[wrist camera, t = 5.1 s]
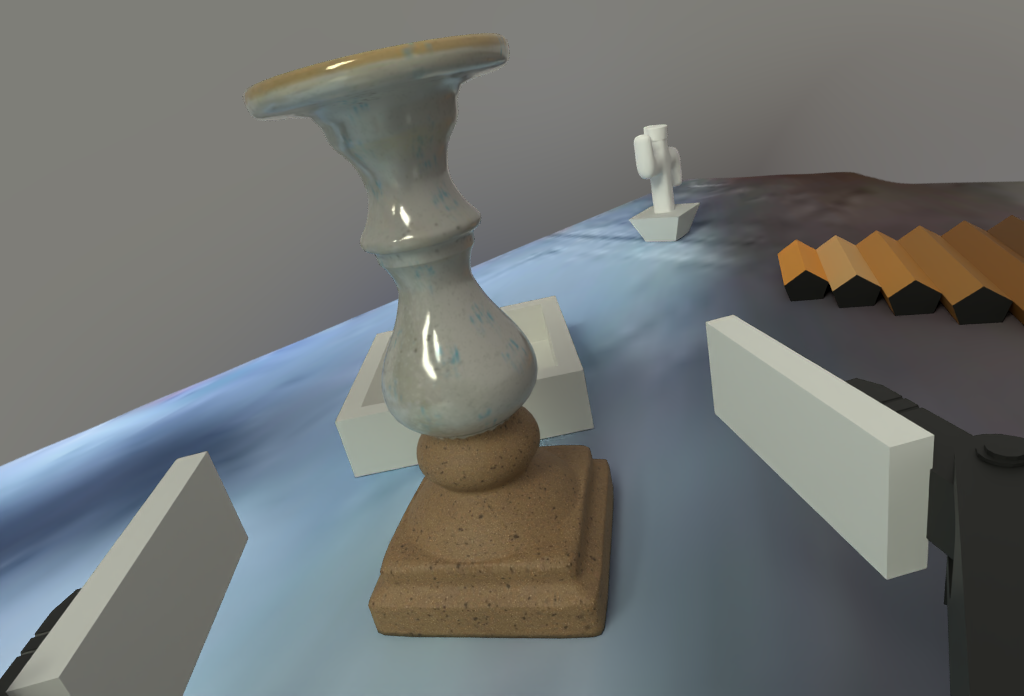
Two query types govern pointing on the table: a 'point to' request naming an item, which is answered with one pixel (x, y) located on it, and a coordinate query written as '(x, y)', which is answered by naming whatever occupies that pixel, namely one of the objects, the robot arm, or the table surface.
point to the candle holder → (455, 368)
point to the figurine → (661, 188)
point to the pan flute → (917, 271)
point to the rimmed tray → (552, 403)
